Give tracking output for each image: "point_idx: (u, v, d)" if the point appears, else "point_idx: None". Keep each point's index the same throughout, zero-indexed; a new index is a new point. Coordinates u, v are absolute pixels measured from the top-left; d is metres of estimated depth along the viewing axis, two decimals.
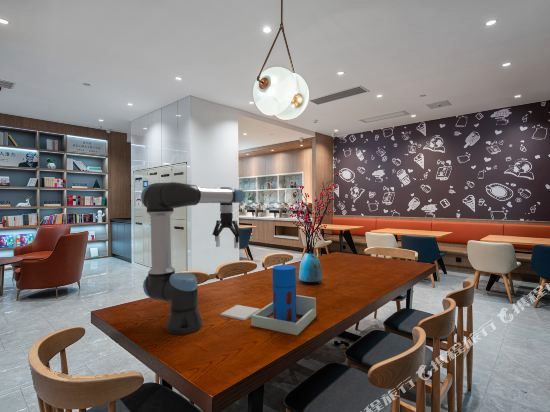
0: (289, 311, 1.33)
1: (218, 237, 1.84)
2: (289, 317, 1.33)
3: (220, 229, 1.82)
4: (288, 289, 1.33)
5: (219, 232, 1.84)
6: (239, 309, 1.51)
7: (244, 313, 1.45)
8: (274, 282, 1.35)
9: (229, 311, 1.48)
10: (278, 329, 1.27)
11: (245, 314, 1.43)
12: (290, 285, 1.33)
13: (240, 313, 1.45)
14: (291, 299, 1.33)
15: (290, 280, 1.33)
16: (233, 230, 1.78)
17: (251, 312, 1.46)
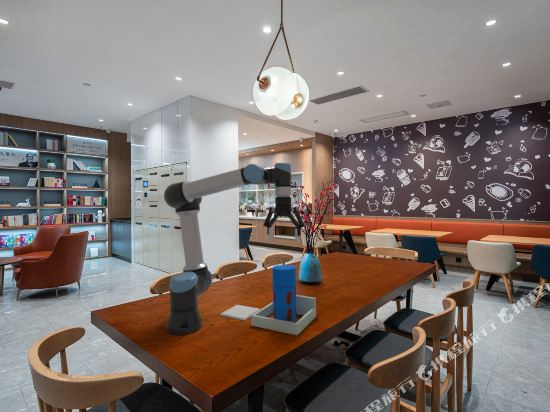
0: (289, 311, 1.33)
1: (271, 229, 1.41)
2: (289, 317, 1.33)
3: (275, 218, 1.38)
4: (288, 289, 1.33)
5: (273, 222, 1.40)
6: (239, 309, 1.51)
7: (244, 313, 1.45)
8: (274, 282, 1.35)
9: (229, 311, 1.48)
10: (278, 329, 1.27)
11: (245, 314, 1.43)
12: (290, 285, 1.33)
13: (240, 313, 1.45)
14: (291, 299, 1.33)
15: (290, 280, 1.33)
16: (294, 219, 1.34)
17: (251, 312, 1.46)
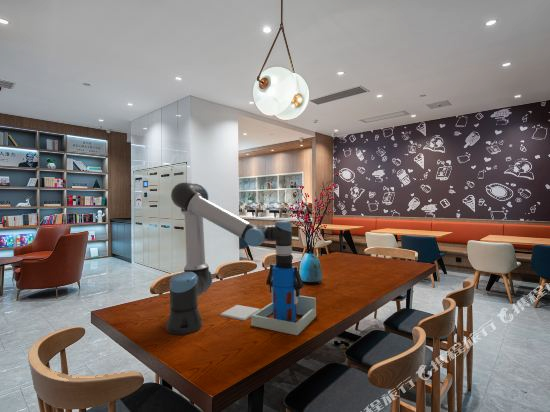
0: (289, 311, 1.33)
1: None
2: (289, 317, 1.33)
3: None
4: (288, 289, 1.33)
5: None
6: (239, 309, 1.51)
7: (244, 313, 1.45)
8: (274, 282, 1.35)
9: (229, 311, 1.48)
10: (278, 329, 1.27)
11: (245, 314, 1.43)
12: (290, 285, 1.33)
13: (240, 313, 1.45)
14: (291, 299, 1.33)
15: (290, 280, 1.33)
16: None
17: (251, 312, 1.46)
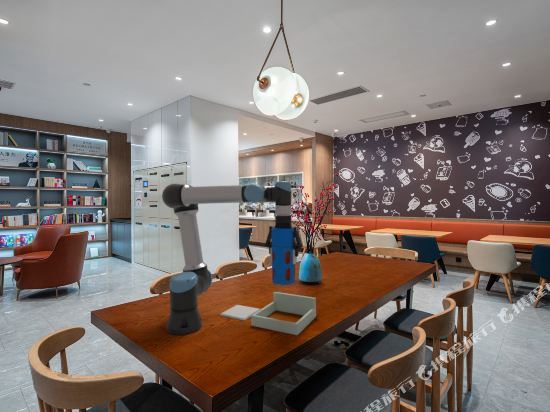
0: (288, 271, 1.33)
1: None
2: (288, 277, 1.33)
3: None
4: (287, 248, 1.32)
5: None
6: (239, 309, 1.51)
7: (244, 313, 1.45)
8: (273, 242, 1.35)
9: (229, 311, 1.48)
10: (278, 329, 1.27)
11: (245, 314, 1.43)
12: (289, 245, 1.33)
13: (240, 313, 1.45)
14: (290, 258, 1.33)
15: (289, 240, 1.33)
16: None
17: (251, 312, 1.46)
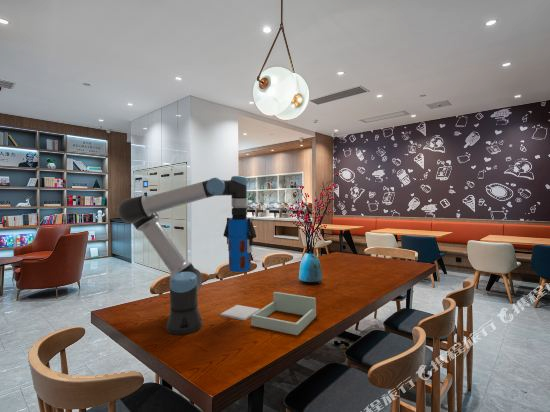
0: (242, 259, 1.43)
1: None
2: (242, 264, 1.43)
3: None
4: (241, 238, 1.43)
5: None
6: (239, 309, 1.51)
7: (244, 313, 1.45)
8: (229, 232, 1.45)
9: (229, 311, 1.48)
10: (278, 329, 1.27)
11: (245, 314, 1.43)
12: (243, 234, 1.43)
13: (240, 313, 1.45)
14: (244, 247, 1.43)
15: (244, 230, 1.43)
16: None
17: (251, 312, 1.46)
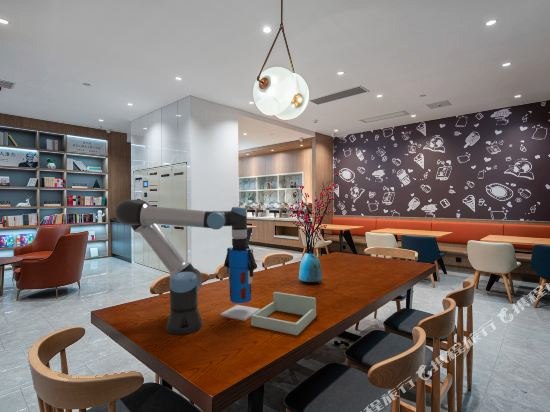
0: (243, 290, 1.43)
1: None
2: (243, 295, 1.43)
3: None
4: (242, 269, 1.43)
5: None
6: (239, 309, 1.51)
7: (244, 313, 1.45)
8: (230, 263, 1.45)
9: (229, 311, 1.48)
10: (278, 329, 1.27)
11: (245, 314, 1.43)
12: (244, 266, 1.43)
13: (240, 313, 1.45)
14: (245, 279, 1.43)
15: (244, 261, 1.43)
16: None
17: (251, 312, 1.46)
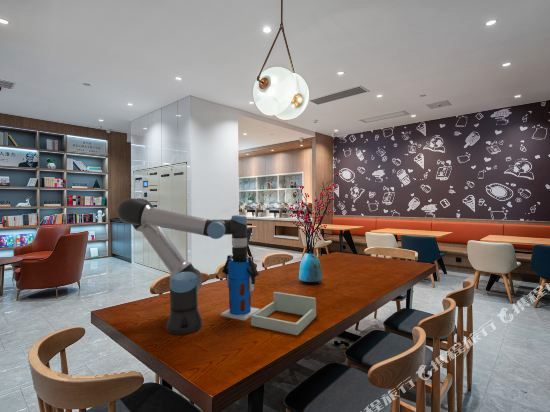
0: (242, 302, 1.43)
1: None
2: (242, 307, 1.43)
3: None
4: (241, 281, 1.43)
5: None
6: None
7: None
8: (229, 275, 1.45)
9: (229, 311, 1.48)
10: (278, 329, 1.27)
11: (245, 314, 1.43)
12: (243, 277, 1.43)
13: None
14: (244, 290, 1.44)
15: (244, 273, 1.43)
16: (248, 269, 1.45)
17: (251, 312, 1.46)
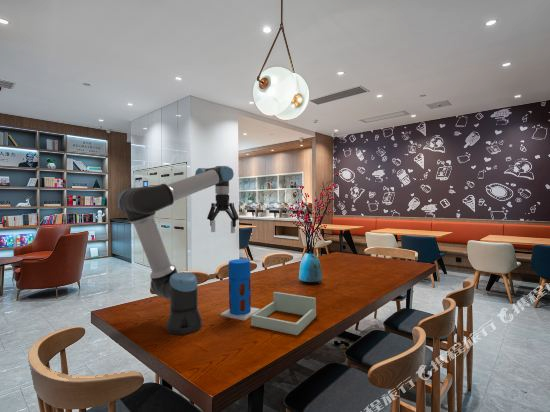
0: (242, 302, 1.43)
1: (213, 221, 1.68)
2: (242, 307, 1.43)
3: (215, 212, 1.66)
4: (241, 281, 1.43)
5: (214, 216, 1.67)
6: None
7: None
8: (229, 275, 1.45)
9: (229, 311, 1.48)
10: (278, 329, 1.27)
11: (245, 314, 1.43)
12: (243, 277, 1.43)
13: None
14: (244, 290, 1.44)
15: (244, 273, 1.43)
16: (230, 213, 1.61)
17: (251, 312, 1.46)
